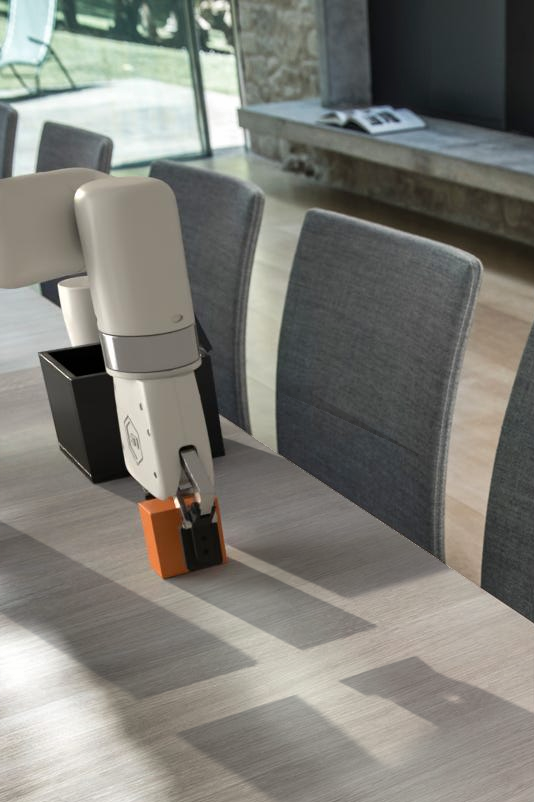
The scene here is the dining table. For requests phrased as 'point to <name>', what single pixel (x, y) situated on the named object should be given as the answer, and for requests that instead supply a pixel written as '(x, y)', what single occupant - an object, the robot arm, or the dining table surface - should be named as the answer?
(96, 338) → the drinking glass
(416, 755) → the dining table surface
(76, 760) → the dining table surface
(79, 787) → the dining table surface
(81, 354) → the bin
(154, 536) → the orange block
